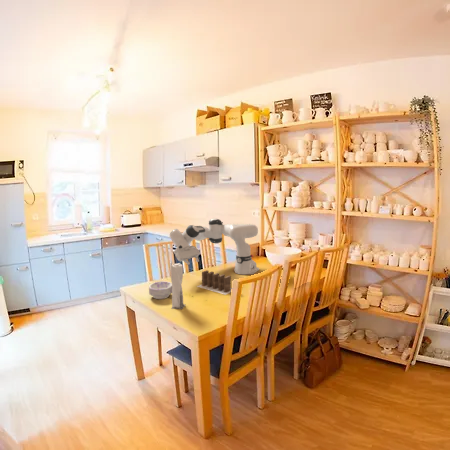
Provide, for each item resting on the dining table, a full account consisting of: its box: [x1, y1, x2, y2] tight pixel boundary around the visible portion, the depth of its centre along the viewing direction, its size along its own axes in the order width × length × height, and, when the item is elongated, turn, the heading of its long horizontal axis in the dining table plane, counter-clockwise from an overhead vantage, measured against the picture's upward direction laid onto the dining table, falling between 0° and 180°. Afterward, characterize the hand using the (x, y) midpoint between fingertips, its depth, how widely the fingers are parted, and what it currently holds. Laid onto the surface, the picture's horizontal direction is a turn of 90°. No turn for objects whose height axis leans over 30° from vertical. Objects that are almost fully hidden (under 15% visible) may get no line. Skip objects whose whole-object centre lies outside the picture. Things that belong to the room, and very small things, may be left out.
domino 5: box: [224, 275, 232, 292], centre depth 211 cm, size 2×5×10 cm, turn 141°
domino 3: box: [213, 272, 220, 289], centre depth 218 cm, size 2×5×10 cm, turn 141°
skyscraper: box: [169, 261, 187, 310], centre depth 189 cm, size 8×8×28 cm
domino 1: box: [201, 269, 210, 286], centre depth 224 cm, size 2×5×10 cm, turn 141°
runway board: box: [196, 283, 233, 296], centre depth 218 cm, size 12×26×1 cm, turn 51°
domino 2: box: [207, 271, 215, 288], centre depth 221 cm, size 2×5×10 cm, turn 141°
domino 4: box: [218, 274, 226, 291], centre depth 215 cm, size 2×5×10 cm, turn 141°
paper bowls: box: [148, 280, 172, 300], centre depth 206 cm, size 15×15×8 cm
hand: (193, 262), depth 229 cm, fingers open, 8 cm apart
